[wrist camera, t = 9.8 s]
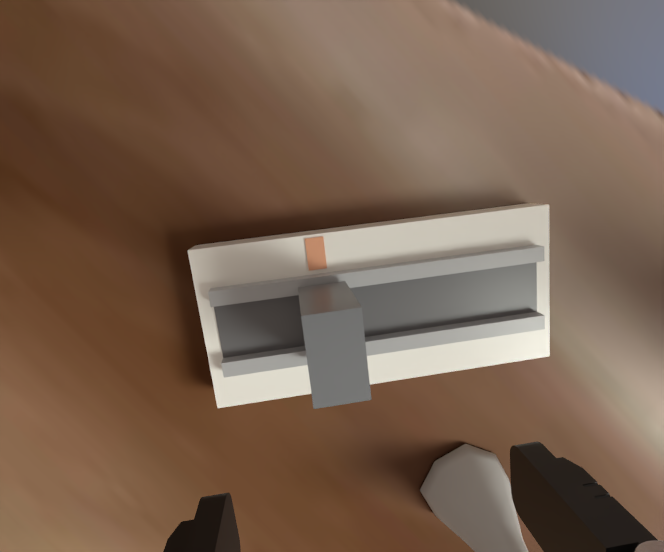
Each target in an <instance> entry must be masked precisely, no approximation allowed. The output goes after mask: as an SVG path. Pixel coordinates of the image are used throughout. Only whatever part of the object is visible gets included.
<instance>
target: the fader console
mask: <svg viewBox="0 0 664 552" xmlns="http://www.w3.org/2000/svg"><path fill="white" fill-rule="evenodd" d="M187 251H188V256H189V261H190V267H191V272H192V277H193V282H194V288H195V293H196V298H197V303H198V308H199V314H200V319H201V324H202V329H203V334H204V340H205V345H206V350H207V355H208V361H209V366H210V371H211V376H212V381H213V387H214V392H215V397H216V402H217V407H218V408H222V407H229V406H235V405H242V404H248V403H254V402H261V401H267V400H273V399H280V398H286V397H293V396H299V395H305V394H312V393H311V386H310V378H309V371H308V364H307V356H306V349H305V342H304V334H303V327H302V320H301V312H300V302H299V293H298V287H305V286H312V285H319V284H327V283H334V282H341V281H346V283H347V285H348V286H349V288H350V289H351V291H352V293H353V294H354V296H355V297H356V299H357V301H358V302H359V304H360V305H361V307H362V314H363V324H364V334H365V343H366V353H367V363H368V372H369V382H370V384H376V383H382V382H388V381H395V380H401V379H408V378H414V377H420V376H427V375H433V374H439V373H446V372H452V371H459V370H465V369H471V368H478V367H484V366H491V365H497V364H503V363H510V362H516V361H522V360H529V359H535V358H542V357H548V356H550V287H549V204H534V203H526V204H518V205H510V206H502V207H494V208H486V209H478V210H470V211H462V212H454V213H446V214H438V215H431V216H423V217H415V218H407V219H399V220H391V221H383V222H375V223H367V224H359V225H351V226H343V227H336V228H328V229H320V230H312V231H304V232H296V233H288V234H280V235H272V236H264V237H256V238H248V239H241V240H233V241H225V242H217V243H209V244H201V245H195V246H194V247H192V248H190V249H189V250H187Z"/></svg>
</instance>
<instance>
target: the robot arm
mask: <svg viewBox="0 0 664 552" xmlns="http://www.w3.org/2000/svg"><path fill="white" fill-rule="evenodd" d="M510 469H511V494H512V500H513V503H514V506H515V508H516V511H517V513H518V515H519V516H520V518H521V519H522V521H523V522H524V524H525V525H526V527H527V528H528V529H529V531H530V532H531V534H532V535H533V537H534V538H535V540H536V541H537V542H538V544H539V545H540V547H541V548H542V550H543V551H544V552H664V541H658V540H657V539H656V538H655V537H654V536H653V535H652V534H651V533H650V532H649V531H648V530H647V529H646V528H645V527H644V526H643V525H642V524H640V523H639V522H638V521H637V520H636V519H635V518H634V517H633V516H632V515H631V514H630V513H629V512H628V511H627V510H626V509H625V508H624V507H623V506H622V505H621V504H620V503H619V502H617V501H616V500H615V499H614V498H613V497H610V495H609V493H608V492H607V491H606V490H605V489H604V488H603V487H602V486H601V485H598V484H597V481H596V480H595V479H593V478H592V477H591V476H590V475H589V474H588V473H587V472H586V471H585V470H584V469H583V468H582V467H580V466H578V465H576V464H574V463H572V462H571V461H569V460H567V459H565V458H563V457H562V458H555V457H554V456H553V454H552V453H551V452H550V451H549V450H548V449H547V448H546V447H545V446H544V445H543V444H541V443H540V442H533V443H527V444H521V445H515V446H512V447H511V449H510ZM164 552H240V540H239V535H238V529H237V524H236V519H235V514H234V509H233V504H232V499H231V495H230V493H224V494H218V495H212V496H206V497H202V498H201V499H200V501H199V505H198V508H197V512H196V515H195V518H194V520H189V521H183V522H181V523H180V524H179V526H178V527H177V528H176V529H175V531H174V532H173V533H172V534H171V536H170V537H169V538H168V540H167V543H166V546H165V549H164Z"/></svg>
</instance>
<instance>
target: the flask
mask: <svg viewBox="0 0 664 552" xmlns="http://www.w3.org/2000/svg"><path fill="white" fill-rule="evenodd" d="M420 492H421V493H422V495H423V496H424V498H425V500H426V501H427V503H428V505H429V506H430V508H431V510H432V511H433V513H434V514H435V516H436V517H438V518H439V519H440V520H441V521H442V522H443V523H444V524H445V525H446V526H448V527H449V528H450V529H451V530H452V531H453V532H455V533H456V534H457V535H458V536H459V537H460V538H461V539H462V540H463V541H465V542H466V543H467V544H468V545H469V546H470V547H471V548H472V549H473V550H474V551H475V552H528V550H527V548H526V545H525V543H524V541H523V538H522V534H521V530H520V526H519V522H518V518H517V514H516V510H515V506H514V503H513V500H512V494H511V486H510V482H509V479H508V477H507V475H506V473H505V471H504V469H503V467H502V466H501V464H500V462H499V460H498V458H497V456H496V455H495V454H494V453H491V452H488V451H485V450H482V449H479V448H477V447H474V446H471V445H468V444H464V445H462V446H460V447H459V448H457V449H455V450H453V451H451V452H450V453H448V454H446V455H444V456H443V457H441V458H439V459H437V460H436V461H435V462H434V463H433V465H432V467H431V469H430V471H429V473H428V475H427V477H426V479H425V481H424V483H423V485H422V487H421V489H420Z"/></svg>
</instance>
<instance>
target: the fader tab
mask: <svg viewBox="0 0 664 552" xmlns="http://www.w3.org/2000/svg"><path fill="white" fill-rule="evenodd" d="M298 293H299V302H300V312H301V320H302V327H303V334H304V342H305V349H306V356H307V364H308V371H309V378H310V386H311V393H312V400H313V407H314V409H317V408H323V407H329V406H335V405H342V404H348V403H354V402H361V401H367V400H371V392H370V382H369V372H368V363H367V353H366V343H365V334H364V324H363V314H362V307H361V305H360V304H359V302H358V301H357V299H356V297H355V296H354V294H353V293H352V291H351V289H350V288H349V286H348V285H347V283H346V281H341V282H334V283H327V284H319V285H312V286H305V287H298Z"/></svg>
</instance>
